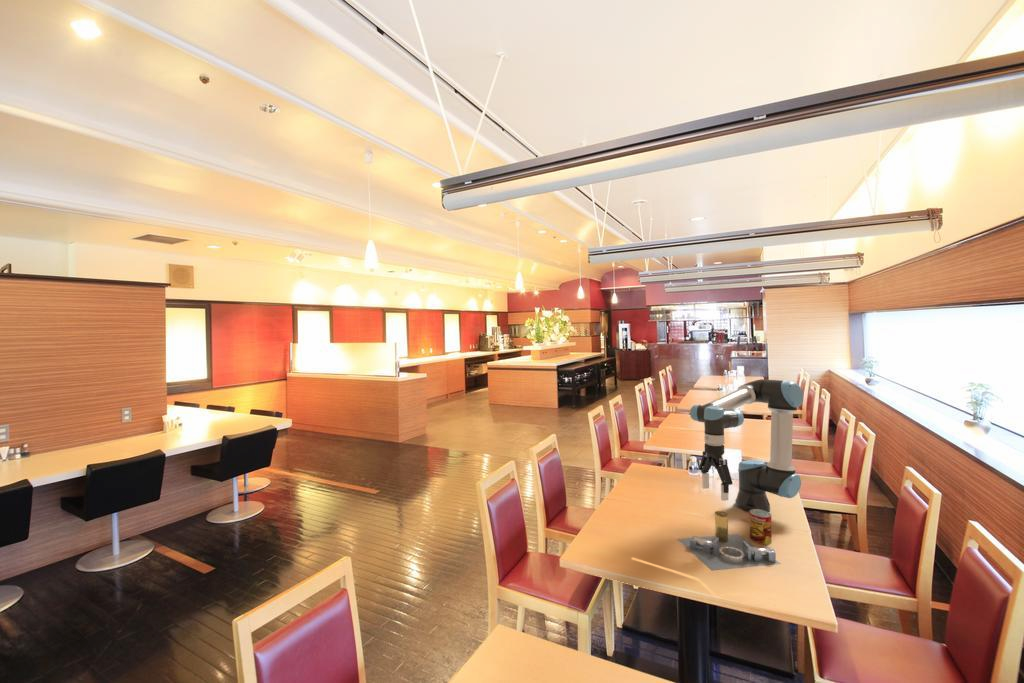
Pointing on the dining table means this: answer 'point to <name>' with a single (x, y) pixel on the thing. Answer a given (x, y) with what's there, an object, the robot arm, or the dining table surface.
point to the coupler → (721, 526)
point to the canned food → (760, 526)
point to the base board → (717, 561)
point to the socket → (730, 558)
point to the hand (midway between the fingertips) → (714, 493)
